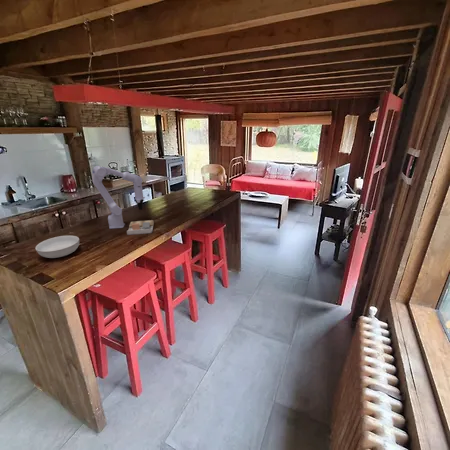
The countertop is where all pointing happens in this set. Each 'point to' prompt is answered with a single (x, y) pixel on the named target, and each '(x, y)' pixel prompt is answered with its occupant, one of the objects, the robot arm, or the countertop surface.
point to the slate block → (146, 225)
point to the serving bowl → (58, 246)
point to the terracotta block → (136, 226)
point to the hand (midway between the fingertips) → (140, 209)
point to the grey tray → (139, 231)
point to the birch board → (142, 223)
